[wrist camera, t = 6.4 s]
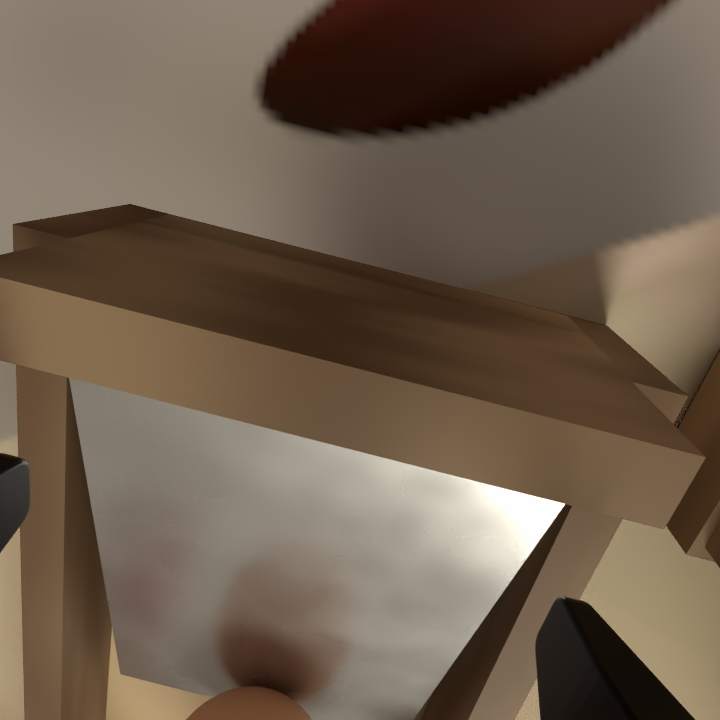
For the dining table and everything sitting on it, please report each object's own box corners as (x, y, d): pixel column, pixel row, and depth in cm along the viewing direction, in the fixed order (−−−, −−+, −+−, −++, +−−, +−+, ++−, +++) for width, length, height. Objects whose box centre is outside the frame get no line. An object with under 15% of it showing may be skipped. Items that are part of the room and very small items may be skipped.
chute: (541, 343, 12) (607, 438, 8) (397, 706, 17) (392, 878, 13) (177, 250, 12) (58, 298, 8) (139, 641, 17) (53, 793, 13)
